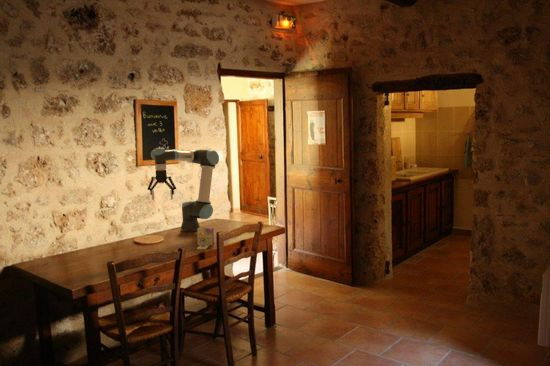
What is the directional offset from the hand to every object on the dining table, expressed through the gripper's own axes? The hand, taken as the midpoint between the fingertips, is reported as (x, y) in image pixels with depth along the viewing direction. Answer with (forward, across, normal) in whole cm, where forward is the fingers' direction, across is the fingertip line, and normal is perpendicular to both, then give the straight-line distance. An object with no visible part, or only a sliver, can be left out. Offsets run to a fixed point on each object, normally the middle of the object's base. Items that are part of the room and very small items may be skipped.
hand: (162, 199), depth 362 cm
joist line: (+31, +32, -9) cm, 45 cm away
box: (+31, +32, -7) cm, 45 cm away
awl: (+30, +32, -15) cm, 46 cm away
